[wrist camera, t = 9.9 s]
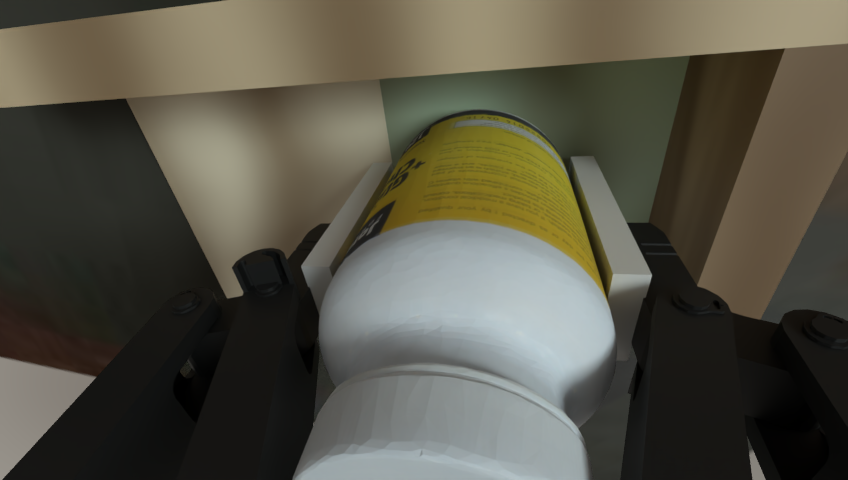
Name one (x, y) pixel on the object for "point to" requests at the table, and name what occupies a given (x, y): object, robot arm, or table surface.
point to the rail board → (474, 89)
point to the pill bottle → (465, 318)
